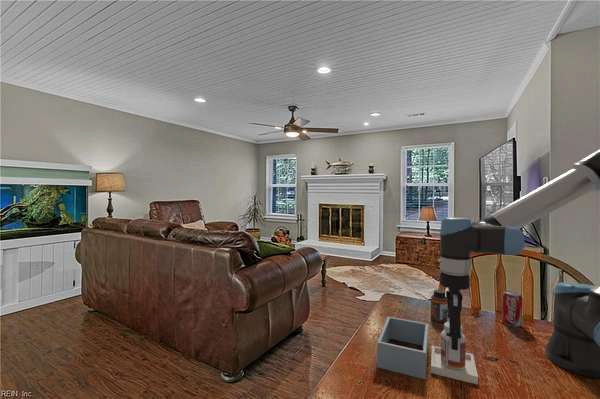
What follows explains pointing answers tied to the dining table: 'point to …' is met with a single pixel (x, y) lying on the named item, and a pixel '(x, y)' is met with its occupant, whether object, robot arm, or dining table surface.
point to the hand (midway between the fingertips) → (453, 350)
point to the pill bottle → (444, 350)
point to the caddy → (402, 356)
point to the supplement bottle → (439, 306)
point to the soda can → (512, 308)
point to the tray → (464, 374)
